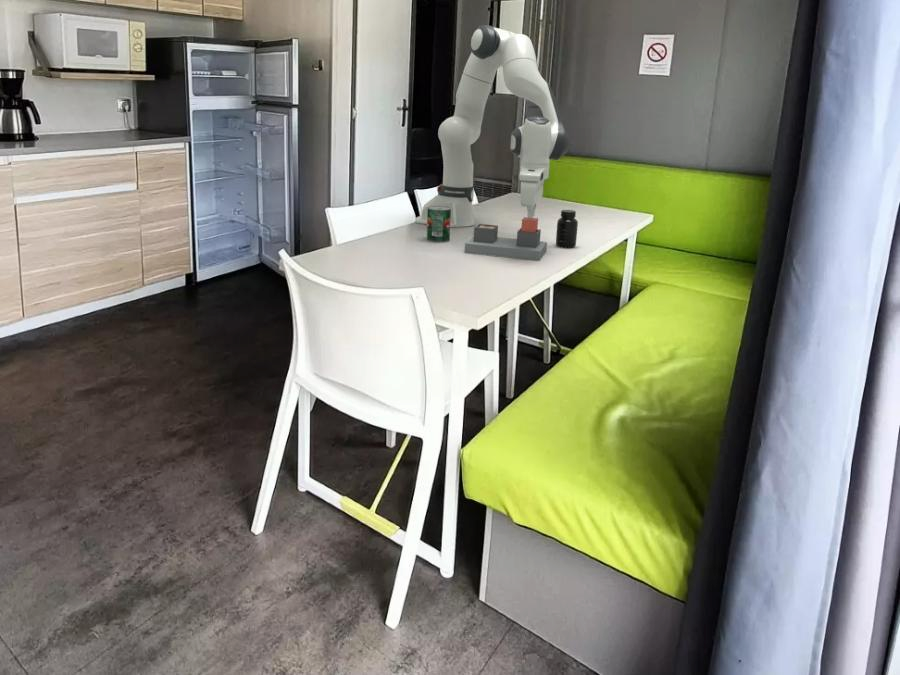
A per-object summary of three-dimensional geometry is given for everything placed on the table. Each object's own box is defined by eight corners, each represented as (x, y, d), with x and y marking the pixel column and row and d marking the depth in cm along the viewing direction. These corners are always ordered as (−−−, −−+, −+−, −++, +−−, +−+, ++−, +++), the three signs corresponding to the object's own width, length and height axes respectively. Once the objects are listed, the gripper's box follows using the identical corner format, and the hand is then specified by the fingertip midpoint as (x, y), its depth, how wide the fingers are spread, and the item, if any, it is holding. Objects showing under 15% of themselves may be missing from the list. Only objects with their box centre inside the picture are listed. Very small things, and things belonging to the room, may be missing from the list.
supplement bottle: (561, 242, 247) (565, 208, 243) (579, 246, 243) (583, 211, 239) (551, 246, 242) (554, 210, 237) (568, 249, 238) (572, 213, 233)
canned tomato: (423, 237, 246) (424, 205, 242) (445, 236, 248) (446, 205, 244) (430, 242, 239) (432, 210, 235) (453, 242, 241) (454, 209, 237)
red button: (521, 232, 225) (521, 219, 224) (523, 229, 229) (524, 217, 228) (534, 233, 224) (535, 220, 223) (537, 230, 228) (538, 218, 227)
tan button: (477, 240, 230) (477, 227, 229) (480, 237, 234) (481, 225, 233) (490, 241, 229) (491, 229, 228) (493, 238, 233) (494, 226, 232)
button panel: (464, 252, 228) (465, 229, 225) (475, 243, 240) (476, 221, 238) (539, 260, 222) (541, 236, 219) (546, 250, 234) (548, 227, 232)
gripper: (529, 167, 230) (526, 210, 235) (518, 175, 212) (514, 221, 217) (549, 169, 229) (545, 212, 234) (539, 176, 210) (535, 223, 215)
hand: (530, 216), depth 225 cm, fingers closed
